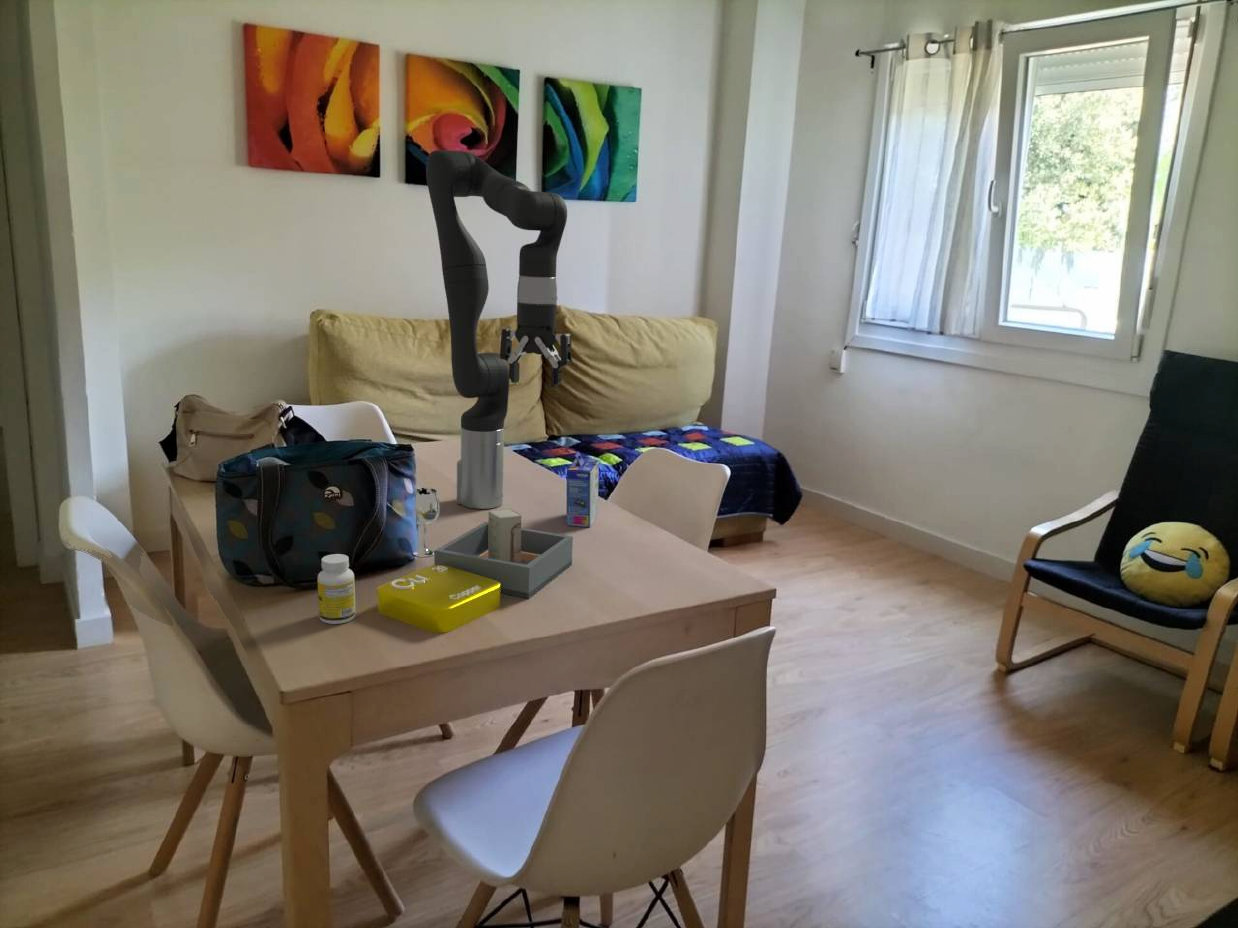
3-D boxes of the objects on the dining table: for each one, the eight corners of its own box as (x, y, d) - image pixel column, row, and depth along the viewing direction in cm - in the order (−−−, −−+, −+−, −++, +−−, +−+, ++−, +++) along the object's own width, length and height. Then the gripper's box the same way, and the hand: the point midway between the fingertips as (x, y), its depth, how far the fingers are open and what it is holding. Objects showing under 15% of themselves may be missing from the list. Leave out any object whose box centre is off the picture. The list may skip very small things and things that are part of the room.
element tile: (441, 638, 139) (441, 608, 138) (371, 612, 147) (371, 584, 145) (506, 607, 151) (506, 579, 150) (438, 585, 159) (438, 559, 158)
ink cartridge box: (573, 511, 202) (575, 447, 198) (598, 514, 201) (600, 449, 198) (564, 525, 192) (566, 458, 189) (590, 527, 192) (593, 460, 188)
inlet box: (434, 580, 160) (434, 550, 158) (484, 549, 176) (485, 521, 175) (528, 598, 154) (529, 567, 152) (571, 564, 170) (572, 536, 169)
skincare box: (521, 569, 164) (522, 515, 161) (498, 573, 161) (499, 518, 159) (509, 560, 168) (510, 507, 166) (486, 563, 166) (487, 510, 163)
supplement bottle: (323, 610, 145) (321, 551, 143) (358, 610, 146) (357, 552, 143) (315, 625, 140) (313, 564, 138) (351, 625, 141) (350, 564, 138)
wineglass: (445, 551, 174) (445, 490, 171) (427, 560, 169) (427, 497, 166) (420, 545, 176) (420, 485, 173) (401, 554, 171) (401, 492, 168)
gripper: (494, 299, 175) (493, 383, 179) (563, 304, 171) (560, 391, 175) (512, 297, 182) (510, 378, 186) (579, 302, 177) (576, 385, 181)
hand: (534, 384), depth 180 cm, fingers open, 8 cm apart
